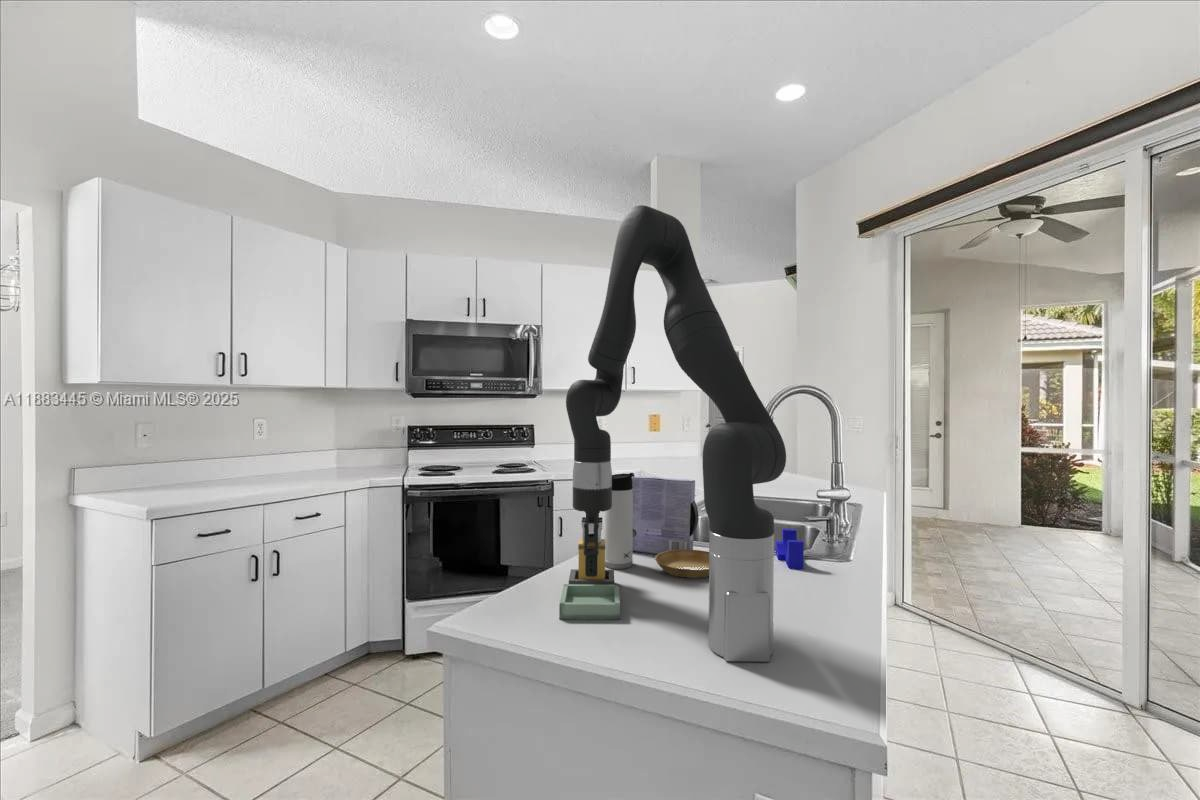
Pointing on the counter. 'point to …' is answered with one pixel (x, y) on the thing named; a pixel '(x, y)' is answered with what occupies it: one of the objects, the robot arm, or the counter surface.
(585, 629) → the counter surface
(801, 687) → the counter surface
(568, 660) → the counter surface
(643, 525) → the cake pan box
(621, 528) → the travel mug
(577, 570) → the frame
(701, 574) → the plant saucer
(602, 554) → the block
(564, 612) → the parts tray
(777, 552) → the cable clip
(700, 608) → the counter surface
